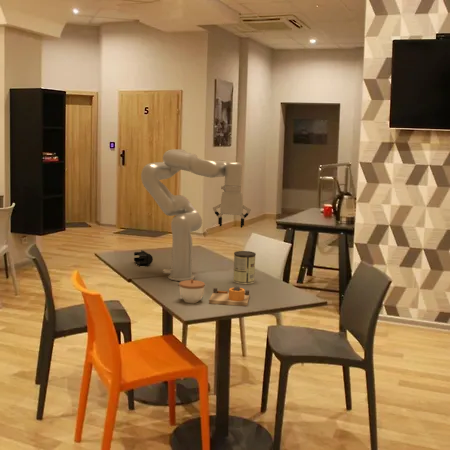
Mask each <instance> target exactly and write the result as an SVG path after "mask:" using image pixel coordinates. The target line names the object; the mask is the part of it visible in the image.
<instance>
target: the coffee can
mask: <svg viewBox="0 0 450 450" xmlns="http://www.w3.org/2000/svg"><path fill="white" fill-rule="evenodd" d="M233 254H234V255H233V260H234V261H233V283H234V284H235V283H236V284H239V285H251V284H254V283H255V273H256V272H255V271H256V252H253V251H249V250H238V251H237V250H236V251H234V253H233Z"/></svg>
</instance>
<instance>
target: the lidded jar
mask: <svg viewBox="0 0 450 450" xmlns="http://www.w3.org/2000/svg"><path fill="white" fill-rule="evenodd" d="M205 285H206V284H205V282H204V281H200V280H195V279H194V280H193V279H191V280H186V281H179V283H178V286H179V289H178V290H179V294H180V297H181V298H182V300H183V301H184V302H185V303H187V304H195V303H199V302H200V300H201V299H202V298H203V296H204V293H205Z"/></svg>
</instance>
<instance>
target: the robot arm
mask: <svg viewBox="0 0 450 450" xmlns="http://www.w3.org/2000/svg"><path fill="white" fill-rule="evenodd" d="M242 169H243V164H242V163H241V162H239V161H237V162H236V161H226V160H219V159H218V160H209V159H208V160H207V159H204V158H199V157H198V156H197V154H196V153H191V152H187V151H186V150H184V149H174V148H173V149H169V150H167V151H165V152H164V153H163V156H162V161H161V162H160V161H159V162H157V161H155V162H150V163H147V164H146V165H144V166H143V168H142V170H141V175H140V177H141V178H140V179H141V182H142V185H143V187H144V189H145V190H146V191H147V192H148V193H149V195H150V196H151V198H153V200H154V202H155V203H156V204H157V206H158V207H159V208H160V210H161V211H162V213H163V214H165V215H166V216H168V217H169V216H170V217H172V216H174V217H173V218H172V219H171V221H170V222H171V223H170V225H171V226H170V229H171V234H172V235H171V236H172V237H171V239H172V246H171V247H172V249H171V250H172V251H171V252H172V253H171V254H172V255H171V268H169V269H167V268H163V270H162V274H166V275H167V274H169V275H168V276H167V277H168V279H169V280H171V281H176V282H181V281H186V280H191V279H193V280H195V275H194V274H192V267H193V238H192V234H191V233H193V232H196V231H199V230H200V228H202V224H203V219H202V217H201V214H200V212H198V210H197V209H196V208H195V206H194V205H193V204H192V203H191V201H190V200H189V199H188V198H187V197H186V196H184V195H181V194H177V195H174V194H173V193H172V192H171V191H170V190H169V188H168V187H167V186H166V185H165V184H164V183H163V182H161V180H168V179H170V178H172V177H173V176H175V175H176V174H177V173H179V172H180V171H185V172H190V173H191V174H194V175H197V176H201V177H206V178H221V177H223V178H224V185H221V187H220V188H221V190H223V191H222V192H221V196H220V197H221V198H220V204H218V205H215V206H213V207H212V209H213V213H214V214H215V215H216V217H217V219H218V221H217V223H218V224H217V225H219V227H222V226H223V217H222V216H223V215H233V216H236V215H237V216H240V228H241V229H242V228H243V227H245V219H246V218H247V217H248V216H249V214H250V212H251V208H249V207H248V206H246V205H244V197H243V192H242V173H243V172H242V171H243V170H242ZM218 209H220V210H219V211H218ZM244 210H245V211H246V212H245V213H244Z"/></svg>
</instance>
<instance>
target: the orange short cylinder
mask: <svg viewBox="0 0 450 450" xmlns="http://www.w3.org/2000/svg"><path fill="white" fill-rule="evenodd" d="M245 291H246V290H245V289H244V288H243V287H240V291H234V287H229V289H228V293H229V299H230V300H233V301H241V300H244V295H245Z"/></svg>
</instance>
